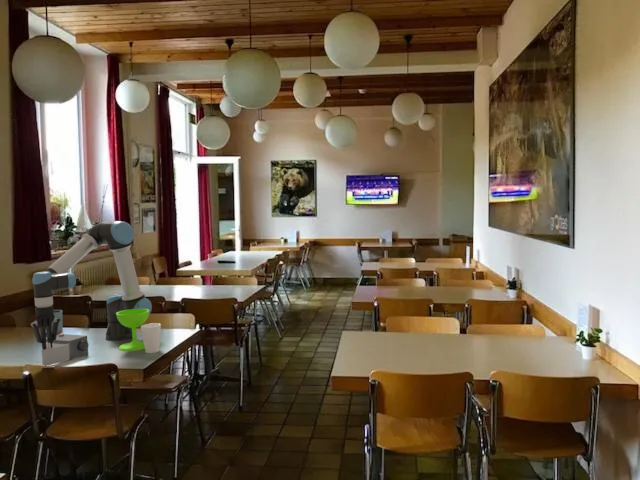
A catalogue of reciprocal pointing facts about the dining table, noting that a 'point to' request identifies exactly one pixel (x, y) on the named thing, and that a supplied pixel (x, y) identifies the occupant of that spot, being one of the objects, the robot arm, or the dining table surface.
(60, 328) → the drinking glass
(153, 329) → the foam cup
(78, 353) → the camera body
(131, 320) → the wineglass
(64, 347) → the side door
